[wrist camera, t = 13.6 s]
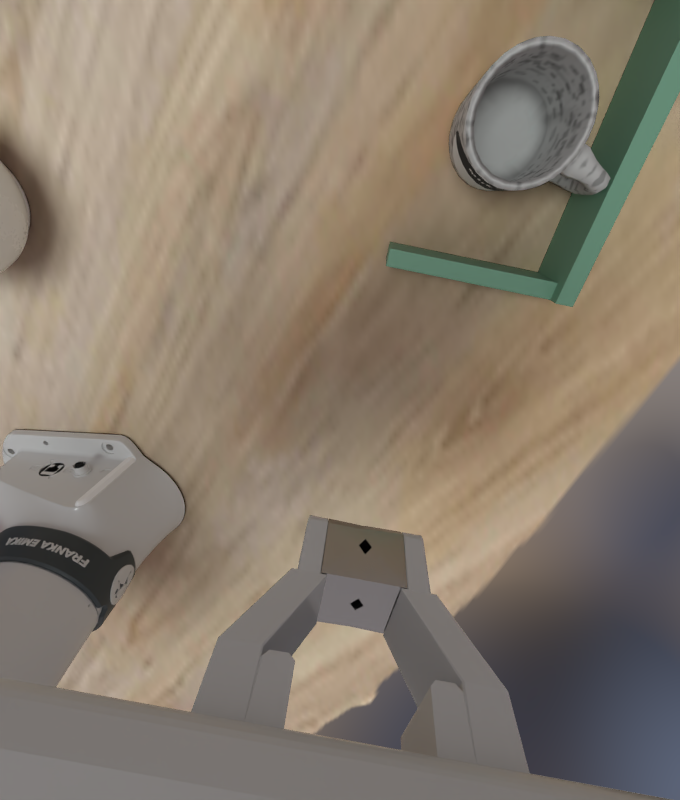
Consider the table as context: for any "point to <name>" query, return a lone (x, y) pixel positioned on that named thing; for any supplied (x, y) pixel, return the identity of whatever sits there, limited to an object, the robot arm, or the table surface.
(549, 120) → the mug
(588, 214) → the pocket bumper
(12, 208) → the lidded bowl
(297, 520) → the table surface
